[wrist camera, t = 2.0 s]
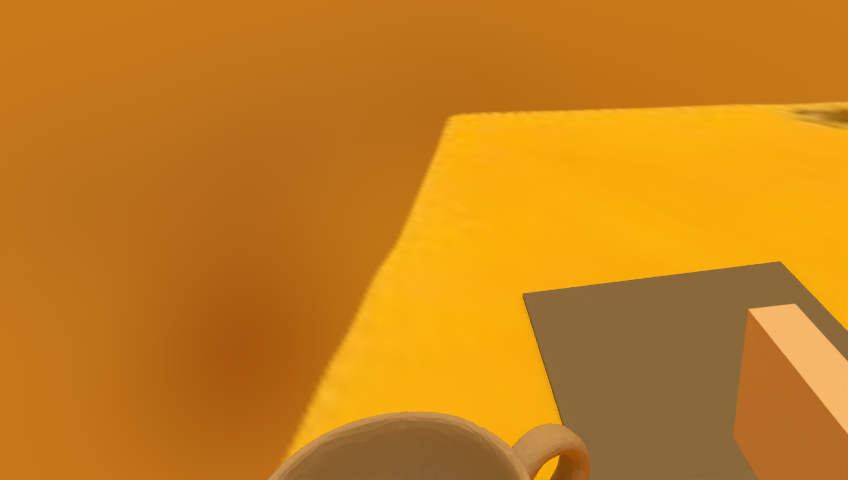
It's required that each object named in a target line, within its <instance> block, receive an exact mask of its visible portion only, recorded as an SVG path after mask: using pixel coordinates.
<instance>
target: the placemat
mask: <svg viewBox="0 0 848 480" xmlns="http://www.w3.org/2000/svg"><path fill="white" fill-rule="evenodd" d="M523 298H524V301H525V304H526V308H527V311H528V314H529V317H530V320H531V324H532V327H533V330H534V333H535V337H536V340H537V343H538V346H539V349H540V353H541V356H542V359H543V362H544V365H545V369H546V372H547V375H548V378H549V381H550V385H551V388H552V391H553V394H554V398H555V401H556V404H557V407H558V410H559V414H560V417H561V420H562V423H563V426H565V427H567V428H568V429H570V430H571V431H573V432H574V433H575V434H576V435H577V436H579V437H580V438H581V440H582V441H583V442H584V444H585V446H586V448H587V450H588V452H589V456H590V473H589V477H588V480H758V478H757V476H756V475H755V473H754V471H753V470H752V468H751V466H750V465H749V463H748V461H747V460H746V458H745V456H744V455H743V453H742V451H741V450H740V448H739V446H738V445H737V443H736V441H735V440H734V438H733V432H734V423H735V415H736V407H737V398H738V390H739V381H740V373H741V365H742V356H743V348H744V339H745V331H746V323H747V314H748V309H753V308H762V307H770V306H779V305H788V304H796V305H797V306H798V307H799V309H800V310H801V311H802V312H803V313H804V314H805V315H806V316H807V317H808V318H809V320H810V321H811V322H812V323H813V324H814V325H815V326H816V327H817V328H818V329H819V330H820V332H821V333H822V334H823V335H824V336H825V337H826V338H827V339H828V340H829V341H830V343H831V344H832V345H833V346H834V347H835V348H836V349H837V350H838V351H839V352H840V354H841V355H842V356H843V357H844V358H845V359H846V360H847V361H848V331H847V330H846V329H845V328H844V327H843V326H842V325H841V324H840V323H839V322H838V321H837V320H836V319H835V318H834V317H833V316H832V315H831V314H830V313H829V312H828V311H827V310H826V309H825V307H824V306H823V305H822V304H821V303H820V302H819V301H818V300H817V299H816V298H815V297H814V296H813V295H812V294H811V293H810V292H809V291H808V290H807V289H806V288H805V287H804V286H803V285H802V284H801V283H800V282H799V281H798V279H797V278H796V277H795V276H794V275H793V274H792V273H791V272H790V271H789V270H788V269H787V268H786V267H785V266H784V265H783V264H782V263H781V262H772V263H764V264H756V265H748V266H740V267H732V268H724V269H716V270H708V271H700V272H692V273H684V274H676V275H668V276H660V277H652V278H644V279H636V280H628V281H620V282H612V283H604V284H596V285H588V286H580V287H572V288H564V289H556V290H548V291H540V292H532V293H524V294H523Z"/></svg>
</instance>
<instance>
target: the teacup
mask: <svg viewBox="0 0 848 480" xmlns="http://www.w3.org/2000/svg"><path fill="white" fill-rule="evenodd" d="M558 455H560V457H559V461H558V465H557V468H556V470H555V471H554V473H553V475H552V477H551V479H550V480H588V477H589V473H590V456H589V452H588V450H587V448H586V446H585V444H584V442H583V441H582V440H581V438H580V437H579V436H577V435H576V434H575V433H574V432H573V431H571V430H570V429H568V428H567V427H565V426H562V425H558V424H551V423H550V424H545V425H541V426H538V427H535V428H533V429H532V430H530V431H528V432H527V433H526V434H525V435H523V436H522V437H521V438H520V439H519V440H518V441H517V443H516V444H515V445H514V446H513V447H512V448H511V447H510V446H509V445H507V444H506V443H505V442H504V441H503V440H502V439H501V438H499V437H498V436H497V435H495V434H493V433H492V432H490V431H489V430H487V429H485V428H483V427H480V426H478V425H476V424H474V423H473V422H470V421H468V420H465V419H463V418H460V417H457V416H452V415H448V414H441V413H435V412H400V413H388V414H382V415H377V416H373V417H369V418H364V419H360V420H357V421H354V422H351V423H348V424H345V425H343V426H341V427H338V428H336V429H334V430H332V431H330V432H328V433H325V434H323V435H322V436H320V437H318V438H317V439H315V440H313V441H312V442H310V443H309V444H307V445H306V446H304V447H303V448H301V449H300V450H299V451H297V452H296V453H295V454H294V455H292V456H291V457H290V458H289V459H288V460H286V461H285V462H284V463H283V464H282V465H281V466H280V467H279V468H278V469H277V470H276V471H275V472H274V474H272V476H271V477H270V478H269V479H268V480H534V478H535V476H536V475H537V473H538V471H539V470H540V469H541V467H542V466H543V465H544V464H545V463H546V462H547V461H549V460H550V459H552V458H554V457H555V456H558Z"/></svg>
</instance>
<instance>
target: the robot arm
mask: <svg viewBox="0 0 848 480" xmlns="http://www.w3.org/2000/svg"><path fill="white" fill-rule="evenodd" d="M733 438H734V440H735V441H736V443H737V445H738V446H739V448H740V450H741V451H742V453H743V455H744V456H745V458H746V460H747V461H748V463H749V465H750V466H751V468H752V470H753V471H754V473H755V475H756V476H757V478H758V480H848V361H847V360H846V359H845V358H844V357H843V356H842V355H841V354H840V352H839V351H838V350H837V349H836V348H835V347H834V346H833V345H832V344H831V343H830V341H829V340H828V339H827V338H826V337H825V336H824V335H823V334H822V333H821V332H820V330H819V329H818V328H817V327H816V326H815V325H814V324H813V323H812V322H811V321H810V320H809V318H808V317H807V316H806V315H805V314H804V313H803V312H802V311H801V310H800V309H799V307H798V306H797V305H796V304H788V305H779V306H770V307H762V308H753V309H748V314H747V323H746V331H745V339H744V348H743V356H742V365H741V373H740V381H739V390H738V398H737V407H736V415H735V423H734V432H733Z"/></svg>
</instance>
